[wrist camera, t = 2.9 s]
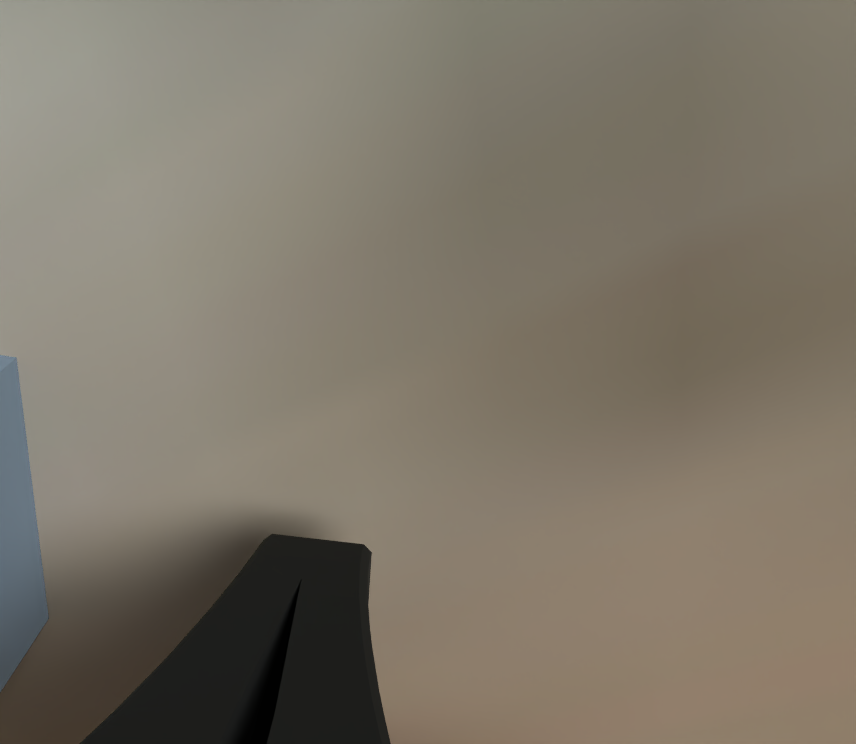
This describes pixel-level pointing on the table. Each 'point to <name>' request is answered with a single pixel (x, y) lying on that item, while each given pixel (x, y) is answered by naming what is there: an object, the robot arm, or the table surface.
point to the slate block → (17, 532)
